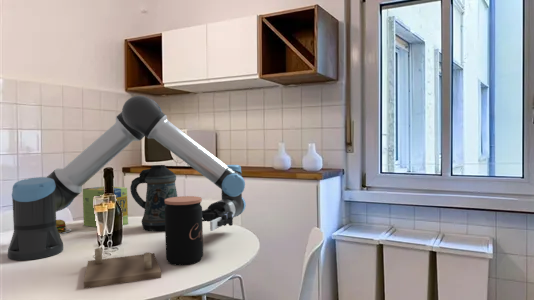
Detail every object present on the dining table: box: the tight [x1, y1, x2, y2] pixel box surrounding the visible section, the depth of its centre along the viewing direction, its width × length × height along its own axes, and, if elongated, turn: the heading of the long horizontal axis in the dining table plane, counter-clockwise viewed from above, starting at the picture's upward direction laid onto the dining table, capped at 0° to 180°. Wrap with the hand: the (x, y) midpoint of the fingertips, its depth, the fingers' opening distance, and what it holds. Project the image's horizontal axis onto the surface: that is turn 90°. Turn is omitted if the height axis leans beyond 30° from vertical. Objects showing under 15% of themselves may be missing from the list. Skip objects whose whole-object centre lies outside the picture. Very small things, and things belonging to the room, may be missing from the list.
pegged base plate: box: [83, 247, 162, 289], centre depth 107 cm, size 18×18×6 cm
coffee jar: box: [164, 195, 204, 266], centre depth 115 cm, size 11×11×18 cm
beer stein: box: [129, 164, 178, 233], centre depth 158 cm, size 16×19×25 cm
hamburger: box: [56, 219, 72, 235], centre depth 154 cm, size 12×12×6 cm
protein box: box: [82, 186, 129, 228], centre depth 166 cm, size 10×15×16 cm
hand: (190, 224), depth 118 cm, fingers open, 13 cm apart
